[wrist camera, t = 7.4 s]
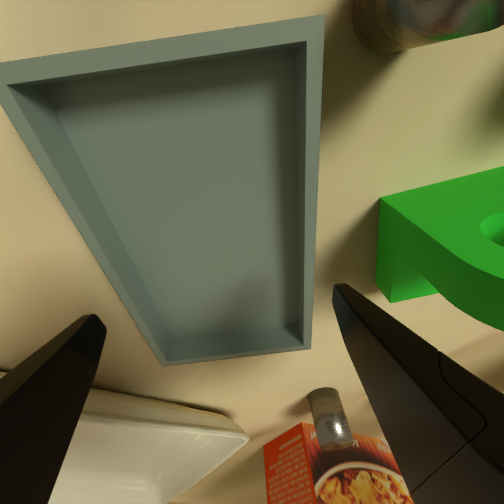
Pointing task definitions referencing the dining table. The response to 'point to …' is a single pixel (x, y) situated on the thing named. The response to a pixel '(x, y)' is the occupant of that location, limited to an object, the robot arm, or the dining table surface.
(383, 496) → the pasta box
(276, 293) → the parts tray
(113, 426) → the square plate
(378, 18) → the spacer posts
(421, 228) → the mechanical part
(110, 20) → the dining table surface
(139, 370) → the dining table surface
